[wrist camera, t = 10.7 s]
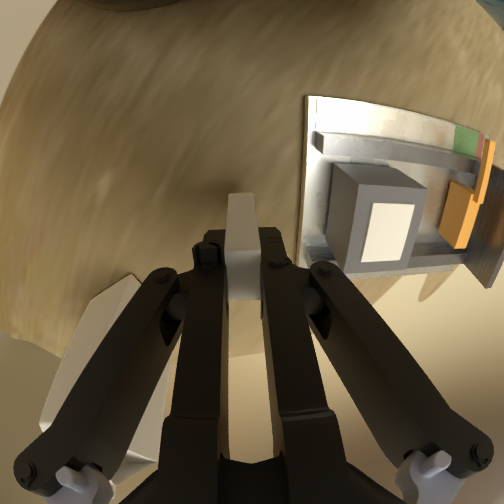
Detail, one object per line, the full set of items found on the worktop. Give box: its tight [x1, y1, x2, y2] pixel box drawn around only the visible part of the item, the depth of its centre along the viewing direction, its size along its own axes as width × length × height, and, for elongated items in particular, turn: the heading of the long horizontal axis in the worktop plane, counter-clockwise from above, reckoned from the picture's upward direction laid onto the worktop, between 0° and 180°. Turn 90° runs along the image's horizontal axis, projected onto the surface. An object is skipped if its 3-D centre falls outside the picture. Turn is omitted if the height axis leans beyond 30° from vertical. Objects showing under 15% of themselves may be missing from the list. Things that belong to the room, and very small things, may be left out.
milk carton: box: [39, 274, 173, 499], centre depth 18 cm, size 7×7×19 cm
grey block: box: [325, 163, 428, 274], centre depth 17 cm, size 6×5×5 cm
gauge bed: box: [295, 96, 504, 288], centre depth 18 cm, size 15×18×7 cm
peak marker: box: [438, 138, 496, 249], centre depth 17 cm, size 10×2×3 cm, turn 1°
